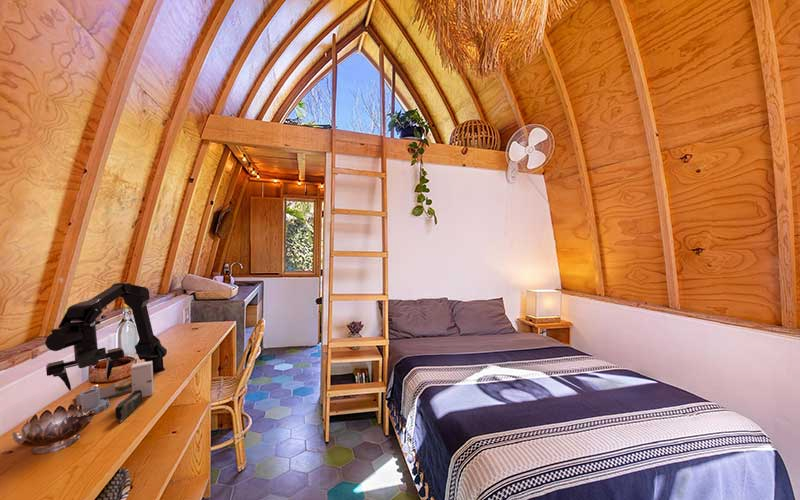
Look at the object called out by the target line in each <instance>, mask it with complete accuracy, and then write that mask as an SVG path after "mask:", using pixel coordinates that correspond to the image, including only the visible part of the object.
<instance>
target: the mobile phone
mask: <svg viewBox="0 0 800 500" xmlns="http://www.w3.org/2000/svg"><path fill="white" fill-rule="evenodd" d="M143 398H144V397H143ZM143 398H142V391H141V390H136V391H134V392H133V393H132V392H131V393H130V394H129V395H128V396H126V398H124V399H123V400H121V401H120V402H119V403H118V404H117V405H116V408H115V411H114V412H115V413H114V415H115V419H116V420H117V421H118V424H121V423H122V422H123V421H124V420H125V419H126V418H127V417H128V416H129V415H130V414H131V413H133V412H134V411H135V410H136V409H137V408H138V407H139V406H140V405H142V403H143V402H144V401H143Z"/></svg>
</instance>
